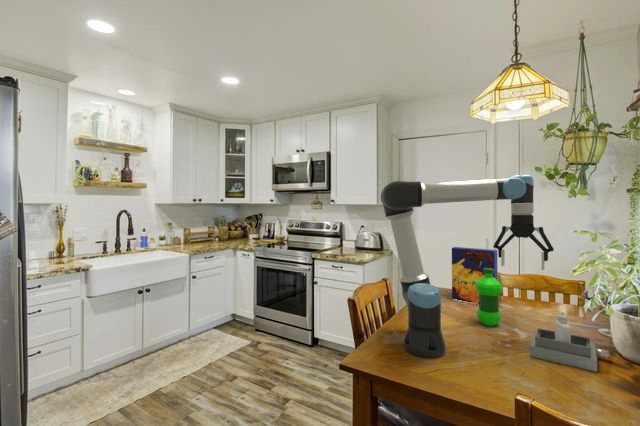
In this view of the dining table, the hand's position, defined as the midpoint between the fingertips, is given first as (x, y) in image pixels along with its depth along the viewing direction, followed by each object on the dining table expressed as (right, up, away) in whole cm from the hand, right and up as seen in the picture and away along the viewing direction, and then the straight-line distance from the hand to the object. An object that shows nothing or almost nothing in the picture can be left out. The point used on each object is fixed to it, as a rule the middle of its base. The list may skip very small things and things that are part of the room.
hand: (522, 267), depth 128 cm
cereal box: (+4, -28, +49) cm, 56 cm away
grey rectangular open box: (+7, -29, -15) cm, 33 cm away
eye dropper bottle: (+4, -25, -15) cm, 30 cm away
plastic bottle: (-4, -29, +17) cm, 34 cm away
